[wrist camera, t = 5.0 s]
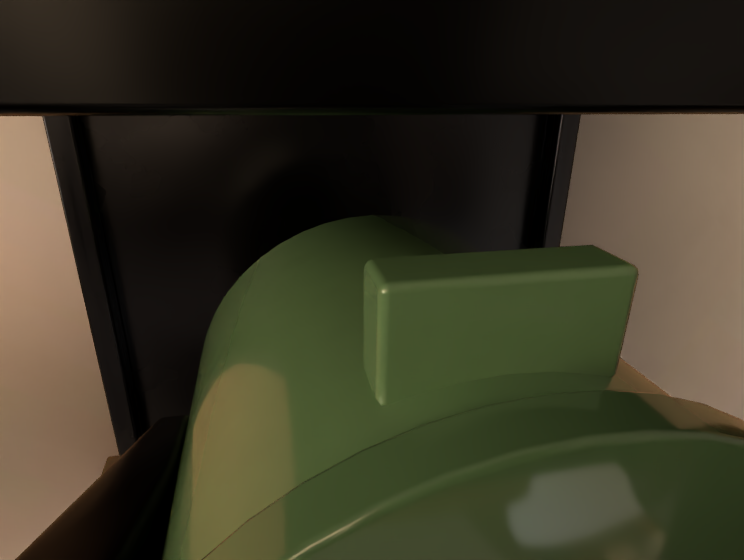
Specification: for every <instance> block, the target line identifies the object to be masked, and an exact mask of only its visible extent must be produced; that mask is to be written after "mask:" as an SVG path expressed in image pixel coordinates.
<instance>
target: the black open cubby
mask: <svg viewBox="0 0 744 560" xmlns="http://www.w3.org/2000/svg"><path fill="white" fill-rule="evenodd" d="M568 114H744V0H0V116H207V115H568Z"/></svg>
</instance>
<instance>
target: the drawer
mask: <svg viewBox="0 0 744 560" xmlns="http://www.w3.org/2000/svg"><path fill="white" fill-rule="evenodd" d="M580 117H581V114H568V115H207V116H43V121H44V125H45V130H46V134H47V139H48V143H49V147H50V152H51V156H52V161H53V165H54V169H55V174H56V178H57V183H58V187H59V191H60V196H61V200H62V205H63V209H64V214H65V218H66V222H67V227H68V231H69V236H70V240H71V244H72V249H73V253H74V258H75V262H76V266H77V271H78V275H79V280H80V284H81V288H82V293H83V297H84V302H85V306H86V311H87V315H88V319H89V324H90V328H91V333H92V337H93V341H94V346H95V350H96V355H97V359H98V363H99V368H100V372H101V377H102V381H103V386H104V390H105V394H106V399H107V403H108V408H109V412H110V416H111V421H112V425H113V430H114V434H115V438H116V443H117V447H118V452H119V455H118V456H110V457H108V458H107V461H106V464H105V466H104V469H103V471H102V474H103V473H104V472H105V471H106V470H107V469H108V468H109V467H110V466H111V465H112V464H114V463H115V462H116V461H117V460H118V459H119V458H120V457H121V456H122V455H123V454H124V453H125V452H126V451H127V450H128V449H129V448H130V447H131V446H132V445H133V444H134V443H135V442H136V441H137V440H138V439H139V438H140V437H141V436H142V435H143V434H144V433H145V432H146V431H147V430H148V429H149V428H150V427H151V426H152V425H153V424H154V423H155V422H156V421H158V420H159V419H160V418H163V417H171V416H179V415H188V416H189V415H190V410H191V405H192V400H193V395H194V389H195V384H196V379H197V374H198V369H199V364H200V359H201V354H202V349H203V346H204V342H205V338H206V334H207V331H208V328H209V326H210V324H211V321H212V319H213V317H214V314H215V312H216V310H217V309H218V307H219V305H220V304H221V302H222V301H223V299H224V297H225V296H226V294H227V292H228V291H229V290H230V289H231V287H232V286H233V285H234V284H235V283H236V281H237V280H238V279H239V278H240V277H241V275H242V274H243V273H244V272H245V271H246V270H247V269H249V268H250V267H251V266H252V265H253V264H254V263H255V262H256V261H257V260H258V259H259V258H261V257H262V256H263V255H265V254H266V253H268V252H269V251H270V250H272V249H273V248H275V247H276V246H277V245H279V244H280V243H282V242H284V241H286V240H288V239H290V238H292V237H293V236H295V235H297V234H299V233H301V232H303V231H306V230H309V229H311V228H314V227H316V226H319V225H322V224H324V223H328V222H333V221H337V220H341V219H345V218H350V217H359V216H369V215H388V216H400V217H407V218H413V219H418V220H422V221H425V222H428V223H432V224H435V225H438V226H440V227H442V228H445V229H447V230H449V231H451V232H453V233H455V234H457V235H459V236H460V237H462V238H463V239H465V240H466V241H468V242H469V243H471V244H472V245H474V246H475V247H476V248H478V249H479V250H480V251H482V252H487V251H503V250H519V249H534V248H550V247H560V241H561V235H562V229H563V223H564V216H565V210H566V204H567V198H568V191H569V185H570V179H571V173H572V166H573V160H574V154H575V148H576V142H577V135H578V129H579V123H580ZM102 474H101V475H102Z"/></svg>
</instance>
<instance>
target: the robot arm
mask: <svg viewBox="0 0 744 560" xmlns="http://www.w3.org/2000/svg"><path fill="white" fill-rule="evenodd" d="M188 420H189V416H188V415H179V416H171V417H163V418H160V419H159V420H158V421H156V422H155V423H154V424H153V425H152V426H151V427H150V428H149V429H148V430H147V431H146V432H145V433H144V434H143V435H142V436H141V437H140V438H139V439H138V440H137V441H136V442H135V443H134V444H133V445H132V446H131V447H130V448H129V449H128V450H127V451H126V452H125V453H124V454H123V455H122V456H121V457H120V458H119V459H118V460H117V461H116V462H115V463H114V464H112V465H111V466H110V467H109V468H108V469H107V470H106V471H105V472H104V473H103V474H102V475H101V476H100V477H99V478H98V479H97V480H96V481H95V482H94V483H93V484H92V485H91V486H90V487H89V488H88V489H87V490H86V491H85V492H84V493H83V494H82V495H81V496H80V497H79V498H78V499H77V500H76V501H75V502H74V503H73V504H72V505H71V506H69V507H68V508H67V509H66V510H65V511H64V512H63V513H62V514H61V515H60V516H59V517H58V518H57V519H56V520H55V521H54V522H53V523H52V524H51V525H50V526H49V527H48V528H47V529H46V530H45V531H44V532H43V533H42V534H41V535H40V536H39V537H38V538H37V539H36V540H35V541H34V542H33V543H32V544H31V545H30V546H29V547H28V548H27V549H25V550H24V551H23V552H22V553H21V554H20V555H19V556H18V557H17V558H16V559H15V560H161V558H162V553H163V548H164V543H165V538H166V533H167V528H168V522H169V517H170V512H171V507H172V502H173V497H174V492H175V487H176V481H177V476H178V471H179V466H180V461H181V456H182V451H183V446H184V441H185V435H186V430H187V425H188Z"/></svg>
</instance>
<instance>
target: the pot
mask: <svg viewBox="0 0 744 560" xmlns="http://www.w3.org/2000/svg"><path fill="white" fill-rule="evenodd" d="M638 275H639V274H638V269H637V267H636V266H635V265H633V264H631V263H629V262H627V261H625V260H623V259H621V258H619V257H617V256H615V255H613V254H611V253H609V252H607V251H605V250H602V249H600V248H598V247H596V246H594V245H582V246H566V247H550V248H534V249H519V250H503V251H487V252H482V251H480V250H479V249H478V248H476V247H475V246H474V245H472V244H471V243H469V242H468V241H466V240H465V239H463V238H462V237H460V236H459V235H457V234H455V233H453V232H451V231H449V230H447V229H445V228H442V227H440V226H438V225H435V224H432V223H428V222H425V221H422V220H418V219H413V218H407V217H400V216H388V215H369V216H359V217H350V218H345V219H341V220H337V221H333V222H328V223H324V224H322V225H319V226H316V227H314V228H311V229H309V230H306V231H303V232H301V233H299V234H297V235H295V236H293V237H292V238H290V239H288V240H286V241H284V242H282V243H280V244H279V245H277V246H276V247H275V248H273V249H272V250H270V251H269V252H268V253H266V254H265V255H263V256H262V257H261V258H259V259H258V260H257V261H256V262H255V263H254V264H253V265H252V266H251V267H250V268H249V269H247V270H246V271H245V272H244V273H243V274H242V275H241V277H240V278H239V279H238V280H237V281H236V283H235V284H234V285H233V286H232V287H231V289H230V290H229V291H228V292H227V294H226V296H225V297H224V299H223V301H222V302H221V304H220V305H219V307H218V309H217V310H216V312H215V314H214V317H213V319H212V321H211V324H210V326H209V328H208V331H207V334H206V338H205V342H204V346H203V349H202V354H201V359H200V364H199V369H198V374H197V379H196V384H195V389H194V395H193V400H192V405H191V410H190V415H189V420H188V425H187V430H186V435H185V441H184V446H183V451H182V456H181V461H180V466H179V471H178V476H177V481H176V487H175V492H174V497H173V502H172V507H171V512H170V517H169V522H168V528H167V533H166V538H165V543H164V548H163V553H162V558H161V560H744V421H743V420H742V419H740V418H738V417H735V416H733V415H730V414H728V413H725V412H723V411H720V410H718V409H715V408H713V407H711V406H708V405H706V404H703V403H699V402H694V401H689V400H685V399H680V398H676V397H671V396H670V395H669V394H667V393H666V392H665V391H663V390H662V389H661V388H660V387H658V386H657V385H656V384H654V383H653V382H652V381H650V380H649V379H648V378H646V377H645V376H644V375H643V374H641V373H640V372H639V371H637V370H636V369H635V368H633V367H632V366H631V365H629V364H628V363H627V362H625V361H624V360H623V359H622V358H620V354H621V350H622V345H623V341H624V336H625V332H626V328H627V323H628V319H629V315H630V310H631V306H632V301H633V297H634V293H635V288H636V284H637V279H638Z"/></svg>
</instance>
